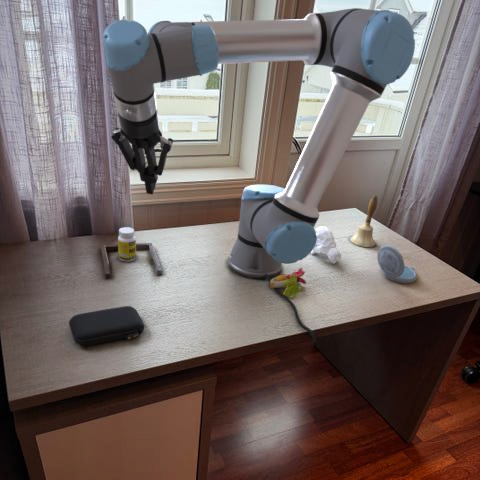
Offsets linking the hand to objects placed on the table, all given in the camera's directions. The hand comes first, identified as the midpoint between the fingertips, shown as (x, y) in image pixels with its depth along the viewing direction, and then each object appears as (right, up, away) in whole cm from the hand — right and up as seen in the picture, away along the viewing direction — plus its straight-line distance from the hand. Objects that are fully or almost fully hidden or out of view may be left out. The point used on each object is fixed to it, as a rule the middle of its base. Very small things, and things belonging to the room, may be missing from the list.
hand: (151, 189), depth 108 cm
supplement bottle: (-10, -15, +16) cm, 24 cm away
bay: (-9, -15, +15) cm, 23 cm away
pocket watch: (+69, -19, +25) cm, 75 cm away
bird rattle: (+31, -23, +8) cm, 40 cm away
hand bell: (+63, -5, +43) cm, 76 cm away
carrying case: (-7, -34, -11) cm, 37 cm away
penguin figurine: (+48, -12, +30) cm, 58 cm away
